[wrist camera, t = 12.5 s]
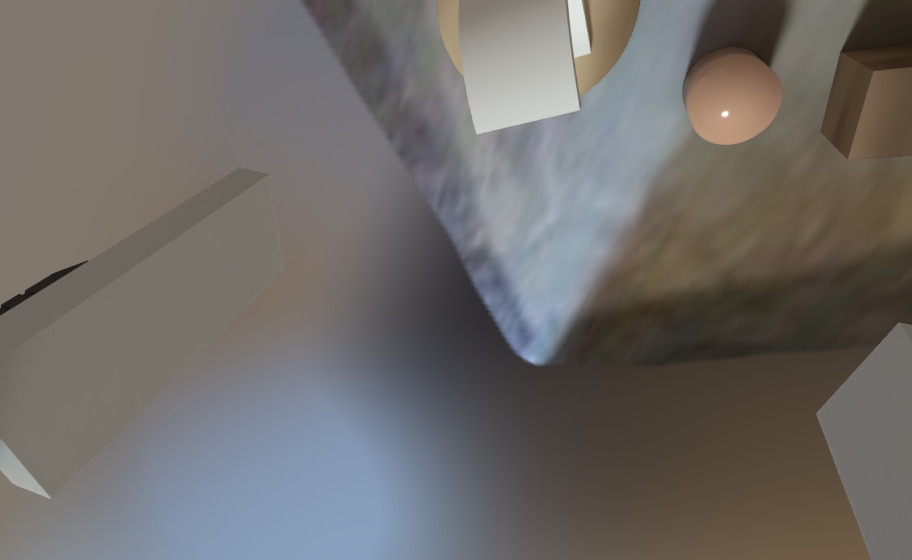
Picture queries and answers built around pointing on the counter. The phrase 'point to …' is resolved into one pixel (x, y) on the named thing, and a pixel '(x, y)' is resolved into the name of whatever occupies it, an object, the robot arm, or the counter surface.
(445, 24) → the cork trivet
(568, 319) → the counter surface
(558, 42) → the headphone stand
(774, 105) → the peach domed cylinder
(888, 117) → the walnut cube
